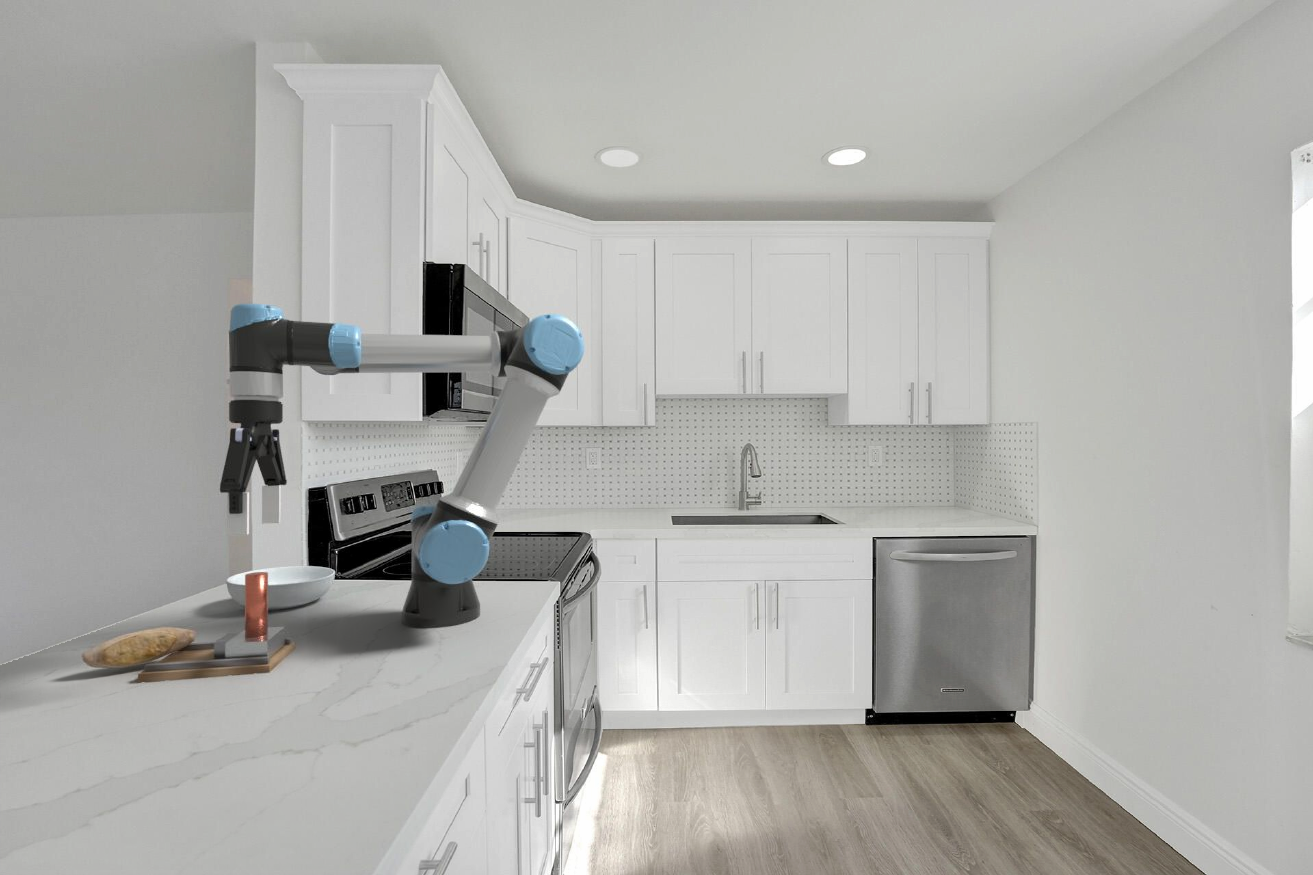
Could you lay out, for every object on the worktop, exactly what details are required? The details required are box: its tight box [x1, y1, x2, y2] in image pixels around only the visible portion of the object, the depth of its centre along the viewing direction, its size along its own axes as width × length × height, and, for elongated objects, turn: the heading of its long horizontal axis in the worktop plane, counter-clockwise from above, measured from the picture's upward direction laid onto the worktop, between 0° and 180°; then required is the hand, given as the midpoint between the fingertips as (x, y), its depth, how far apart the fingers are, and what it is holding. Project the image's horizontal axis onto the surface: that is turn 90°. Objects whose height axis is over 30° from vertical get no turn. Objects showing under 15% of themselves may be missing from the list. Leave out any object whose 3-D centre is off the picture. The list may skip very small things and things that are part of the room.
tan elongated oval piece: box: [81, 626, 197, 669], centre depth 104 cm, size 5×14×4 cm
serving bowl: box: [225, 565, 336, 611], centre depth 143 cm, size 21×21×7 cm
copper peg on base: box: [213, 572, 286, 660], centre depth 106 cm, size 8×8×13 cm
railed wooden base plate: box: [137, 637, 296, 684], centre depth 105 cm, size 18×12×2 cm, turn 102°
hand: (255, 528), depth 106 cm, fingers open, 13 cm apart
